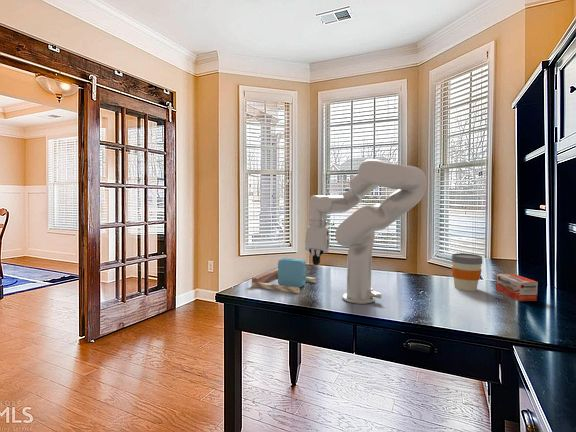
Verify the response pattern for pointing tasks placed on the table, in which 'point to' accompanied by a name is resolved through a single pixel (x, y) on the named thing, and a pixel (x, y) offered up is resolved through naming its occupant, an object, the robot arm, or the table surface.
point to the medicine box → (517, 287)
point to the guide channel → (268, 276)
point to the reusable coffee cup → (466, 271)
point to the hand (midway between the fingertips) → (316, 264)
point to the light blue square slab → (291, 272)
